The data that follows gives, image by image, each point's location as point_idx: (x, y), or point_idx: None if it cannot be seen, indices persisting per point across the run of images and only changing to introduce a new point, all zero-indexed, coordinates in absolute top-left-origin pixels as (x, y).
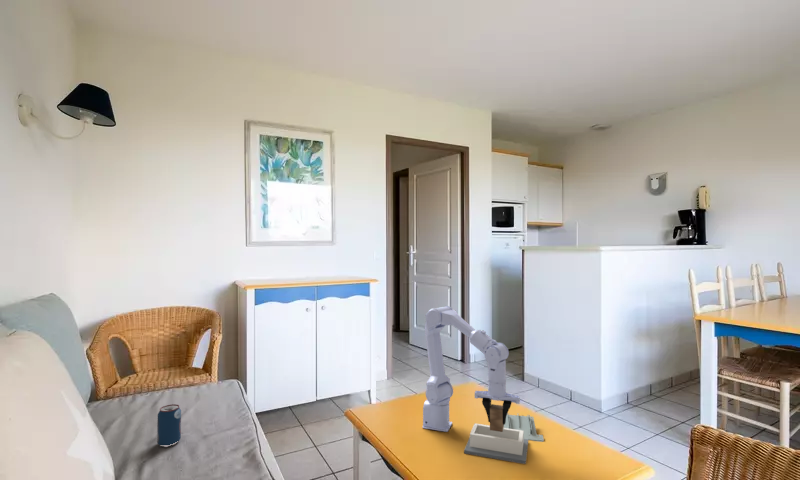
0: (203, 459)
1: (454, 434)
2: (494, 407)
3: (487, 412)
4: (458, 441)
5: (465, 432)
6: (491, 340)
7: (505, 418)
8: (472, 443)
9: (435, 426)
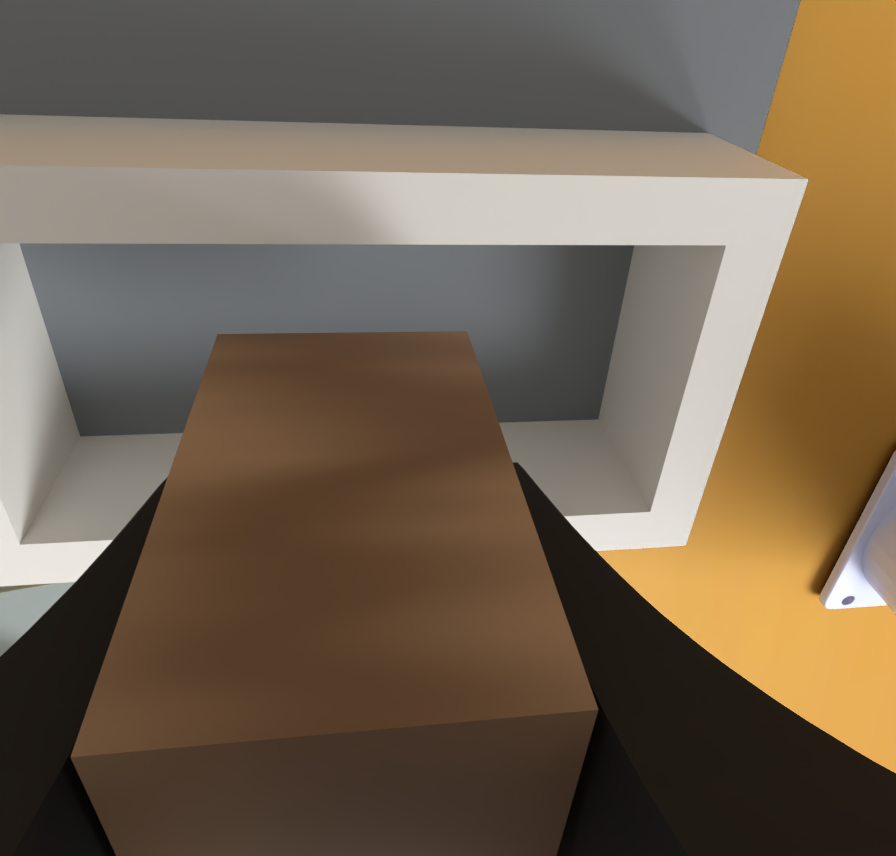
0: None
1: (826, 426)
2: (431, 818)
3: (618, 601)
4: (808, 292)
5: (706, 500)
6: None
7: (91, 567)
8: (694, 142)
9: None
